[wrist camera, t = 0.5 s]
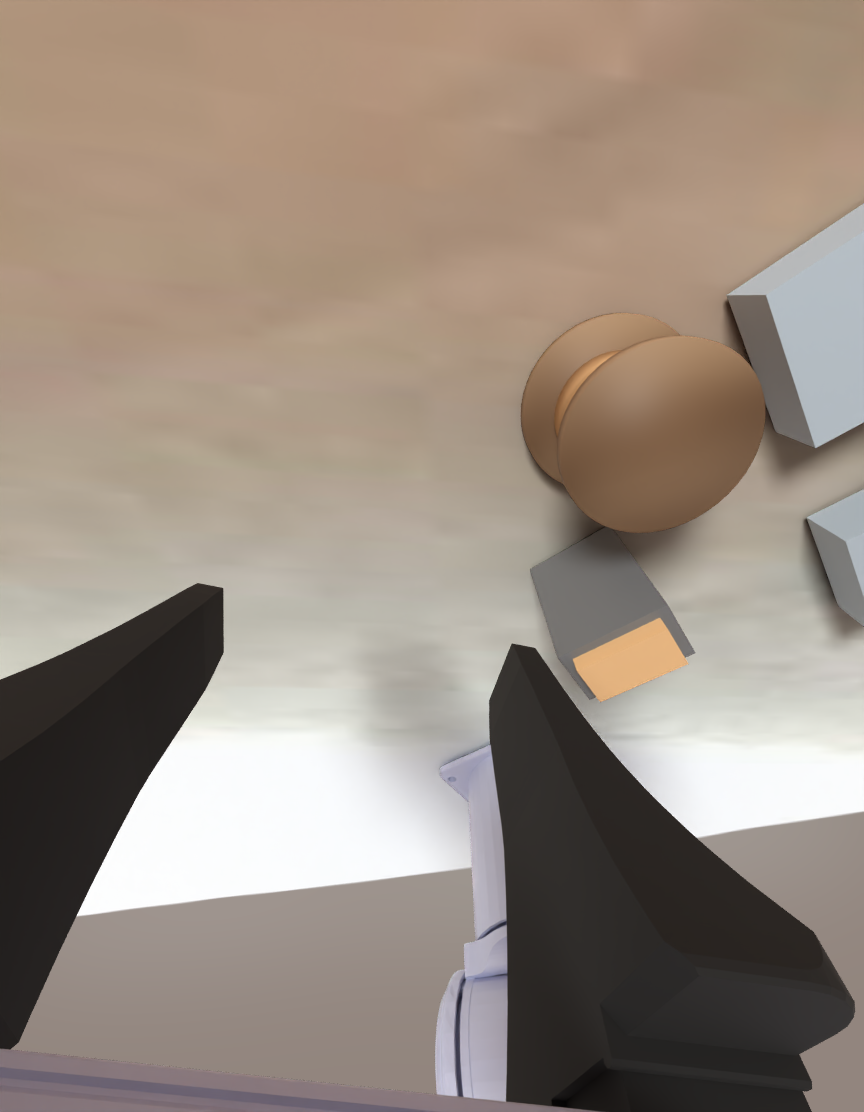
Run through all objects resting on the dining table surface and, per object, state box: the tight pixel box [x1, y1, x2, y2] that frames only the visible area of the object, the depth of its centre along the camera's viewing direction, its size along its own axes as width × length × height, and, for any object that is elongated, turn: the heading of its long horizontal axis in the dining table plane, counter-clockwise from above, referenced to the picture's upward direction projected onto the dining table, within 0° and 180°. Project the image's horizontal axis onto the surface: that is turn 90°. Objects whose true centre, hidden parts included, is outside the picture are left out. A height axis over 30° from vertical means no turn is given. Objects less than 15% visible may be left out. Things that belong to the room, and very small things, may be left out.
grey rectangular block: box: [530, 527, 695, 702], centre depth 18 cm, size 2×4×7 cm, turn 126°
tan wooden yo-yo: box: [521, 313, 766, 533], centre depth 15 cm, size 6×6×5 cm
